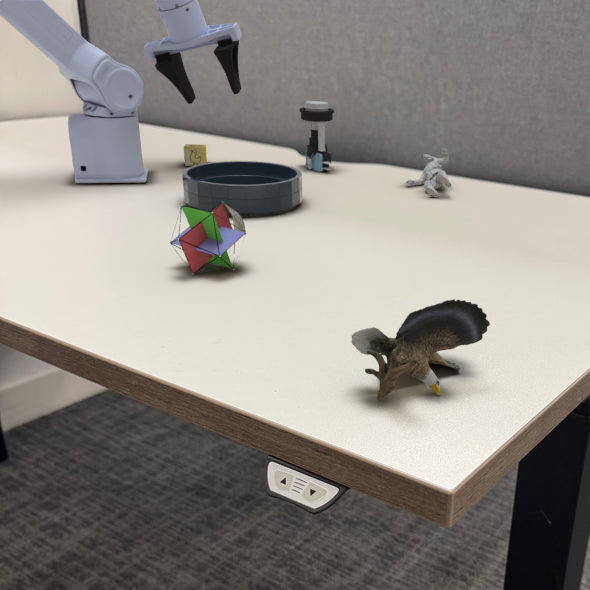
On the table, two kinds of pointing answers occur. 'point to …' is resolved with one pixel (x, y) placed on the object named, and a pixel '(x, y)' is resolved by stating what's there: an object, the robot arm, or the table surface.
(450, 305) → the eagle figurine
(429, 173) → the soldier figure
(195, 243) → the geometric puzzle
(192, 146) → the alphabet block
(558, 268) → the table surface
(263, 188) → the bowl
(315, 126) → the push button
